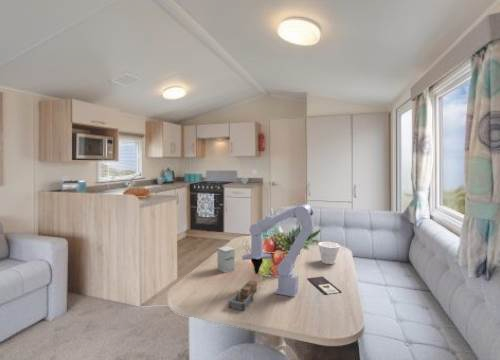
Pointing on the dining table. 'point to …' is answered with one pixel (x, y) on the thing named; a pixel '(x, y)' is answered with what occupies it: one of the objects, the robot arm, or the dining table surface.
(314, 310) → the dining table surface
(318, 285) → the chocolate bar
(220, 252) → the supplement box
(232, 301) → the gray angular bracket
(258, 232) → the robot arm
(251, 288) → the slat
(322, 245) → the cup
